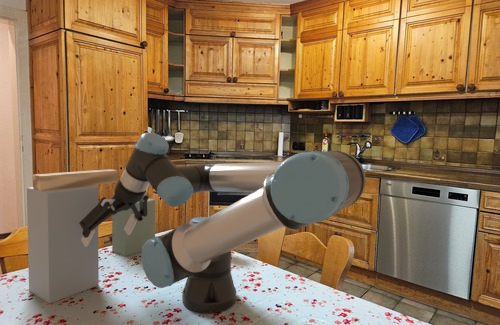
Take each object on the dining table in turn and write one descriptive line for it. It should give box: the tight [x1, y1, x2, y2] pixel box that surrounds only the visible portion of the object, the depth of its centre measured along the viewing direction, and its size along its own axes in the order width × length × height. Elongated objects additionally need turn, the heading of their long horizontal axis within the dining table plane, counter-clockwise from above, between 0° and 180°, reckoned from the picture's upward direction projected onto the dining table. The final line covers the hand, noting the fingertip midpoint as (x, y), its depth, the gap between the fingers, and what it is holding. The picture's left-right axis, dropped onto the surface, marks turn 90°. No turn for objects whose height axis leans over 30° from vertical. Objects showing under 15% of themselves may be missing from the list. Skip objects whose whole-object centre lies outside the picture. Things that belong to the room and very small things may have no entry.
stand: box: [26, 185, 100, 304], centre depth 96 cm, size 12×14×30 cm
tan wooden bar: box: [32, 168, 118, 191], centre depth 98 cm, size 4×23×4 cm, turn 146°
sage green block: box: [111, 198, 156, 257], centre depth 130 cm, size 8×14×20 cm, turn 146°
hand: (106, 237), depth 97 cm, fingers open, 13 cm apart
